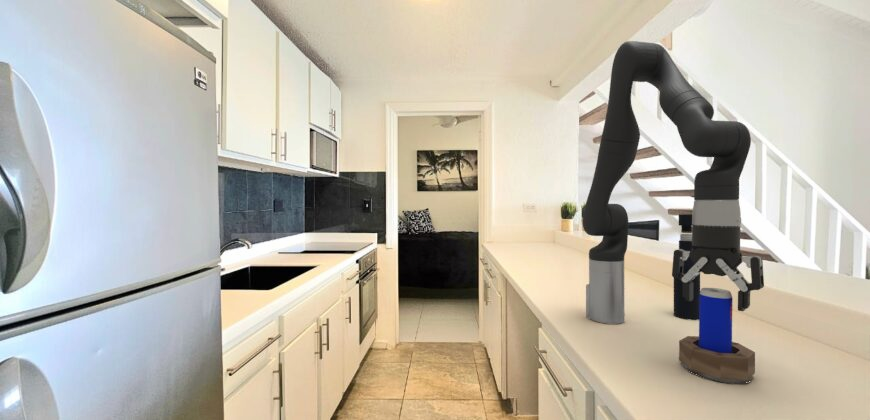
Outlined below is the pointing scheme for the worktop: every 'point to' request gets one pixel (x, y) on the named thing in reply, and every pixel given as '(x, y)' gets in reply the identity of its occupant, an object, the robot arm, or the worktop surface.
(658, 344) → the worktop surface
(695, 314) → the wine bottle
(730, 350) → the beverage can
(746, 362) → the collar
